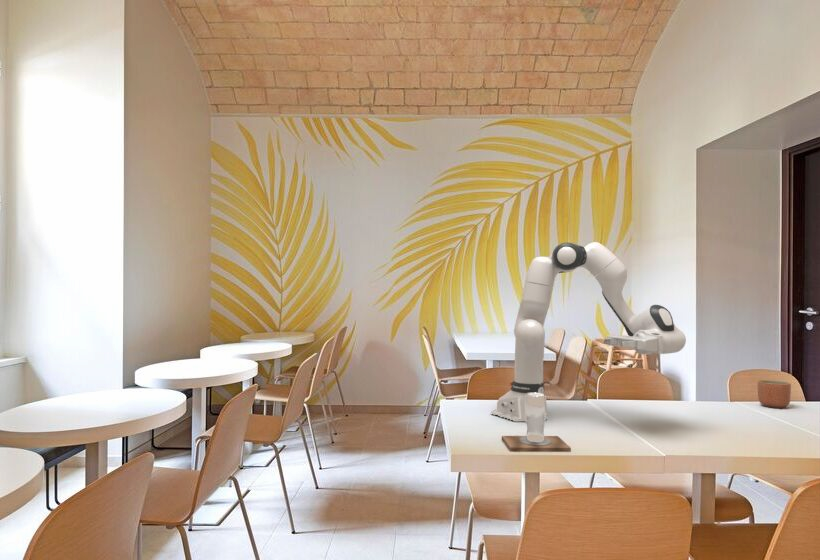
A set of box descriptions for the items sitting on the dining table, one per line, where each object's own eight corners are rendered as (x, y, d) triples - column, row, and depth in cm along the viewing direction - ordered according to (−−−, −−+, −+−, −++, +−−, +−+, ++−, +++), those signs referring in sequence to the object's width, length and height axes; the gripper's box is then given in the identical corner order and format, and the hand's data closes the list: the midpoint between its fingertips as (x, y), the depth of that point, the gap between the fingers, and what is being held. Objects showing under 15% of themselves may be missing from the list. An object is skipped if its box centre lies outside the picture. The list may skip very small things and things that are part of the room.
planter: (797, 410, 242) (797, 384, 242) (768, 409, 242) (768, 384, 242) (779, 404, 254) (779, 379, 254) (751, 403, 254) (751, 379, 254)
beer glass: (521, 437, 185) (522, 392, 185) (542, 437, 185) (542, 392, 186) (527, 443, 178) (528, 396, 178) (549, 443, 178) (549, 396, 179)
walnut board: (510, 451, 174) (510, 446, 174) (501, 439, 188) (501, 434, 188) (570, 451, 175) (570, 446, 175) (557, 439, 189) (557, 435, 189)
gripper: (625, 331, 212) (594, 331, 207) (665, 335, 192) (632, 336, 188) (625, 347, 212) (594, 348, 207) (665, 354, 192) (632, 355, 188)
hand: (612, 342), depth 198 cm, fingers open, 8 cm apart
